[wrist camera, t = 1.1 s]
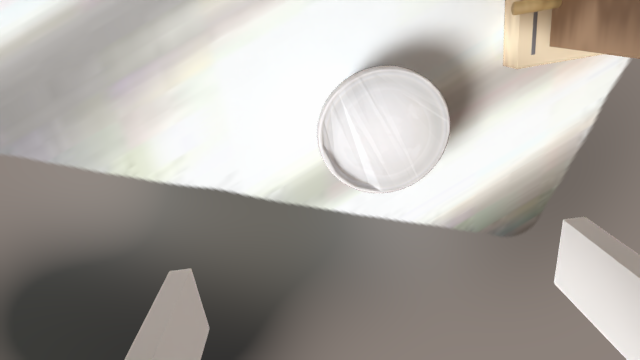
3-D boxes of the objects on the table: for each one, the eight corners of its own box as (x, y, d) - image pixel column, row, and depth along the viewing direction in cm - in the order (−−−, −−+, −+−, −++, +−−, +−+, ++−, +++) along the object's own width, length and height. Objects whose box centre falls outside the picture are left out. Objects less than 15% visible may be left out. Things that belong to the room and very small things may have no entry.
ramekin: (292, 135, 38) (292, 153, 33) (361, 32, 34) (371, 36, 29) (383, 191, 41) (394, 215, 36) (453, 102, 37) (477, 116, 32)
